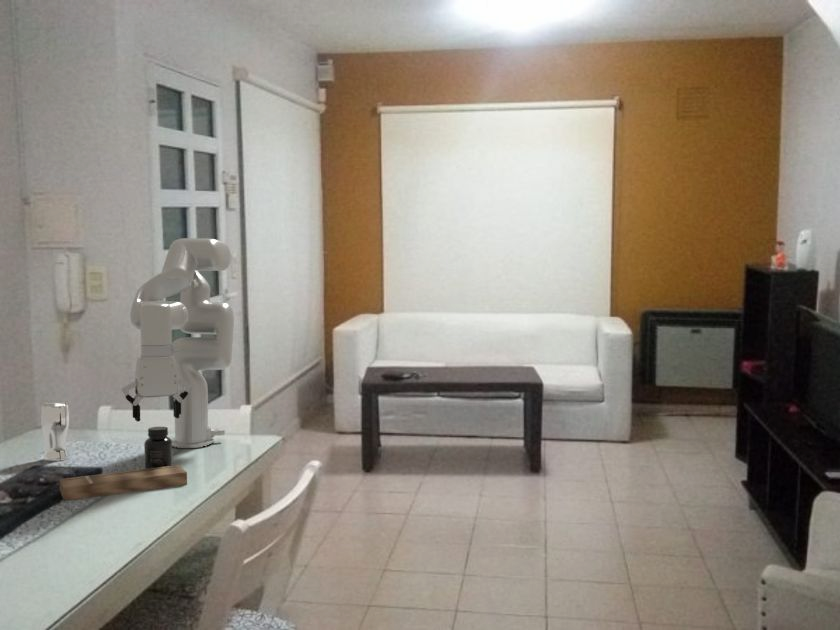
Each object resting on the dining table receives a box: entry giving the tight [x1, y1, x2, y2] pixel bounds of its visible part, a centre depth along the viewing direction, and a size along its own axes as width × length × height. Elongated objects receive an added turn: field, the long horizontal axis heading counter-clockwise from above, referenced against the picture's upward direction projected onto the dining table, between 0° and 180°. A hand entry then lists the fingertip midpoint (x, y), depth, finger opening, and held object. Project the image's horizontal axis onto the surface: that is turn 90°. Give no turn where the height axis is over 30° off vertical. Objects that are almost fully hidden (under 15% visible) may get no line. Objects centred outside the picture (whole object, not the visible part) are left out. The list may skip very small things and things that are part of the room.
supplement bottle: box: [143, 426, 174, 469], centre depth 216 cm, size 7×7×12 cm
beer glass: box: [40, 402, 70, 462], centre depth 231 cm, size 7×7×15 cm
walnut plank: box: [59, 464, 188, 501], centre depth 204 cm, size 28×8×3 cm, turn 119°
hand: (157, 419), depth 215 cm, fingers open, 9 cm apart
